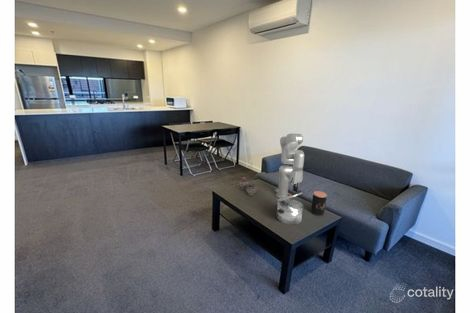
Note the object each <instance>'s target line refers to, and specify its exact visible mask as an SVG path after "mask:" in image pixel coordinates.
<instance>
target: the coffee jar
mask: <svg viewBox="0 0 470 313" xmlns="http://www.w3.org/2000/svg"><path fill="white" fill-rule="evenodd" d="M327 195H328V194H327V193H325V192H324V191H320V190H319V191H318V190H316V191H313V195H312V201H311V207H310V208H311V209H310V212H311V214H313V215H314V214H315V216H318V215H321V216H323V215H324V214H325V208H326V204H327Z"/></svg>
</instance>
